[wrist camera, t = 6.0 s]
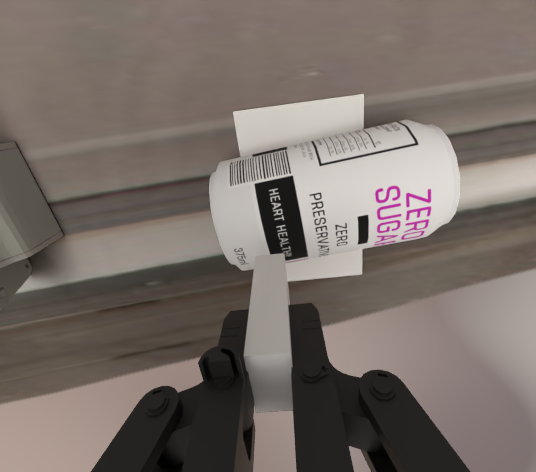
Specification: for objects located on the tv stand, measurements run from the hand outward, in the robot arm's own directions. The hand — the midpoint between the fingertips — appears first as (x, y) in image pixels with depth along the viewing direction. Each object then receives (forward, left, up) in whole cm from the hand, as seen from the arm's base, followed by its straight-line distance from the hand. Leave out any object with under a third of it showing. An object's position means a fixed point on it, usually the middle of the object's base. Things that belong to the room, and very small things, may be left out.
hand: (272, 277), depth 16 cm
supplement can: (-4, +1, -7) cm, 8 cm away
